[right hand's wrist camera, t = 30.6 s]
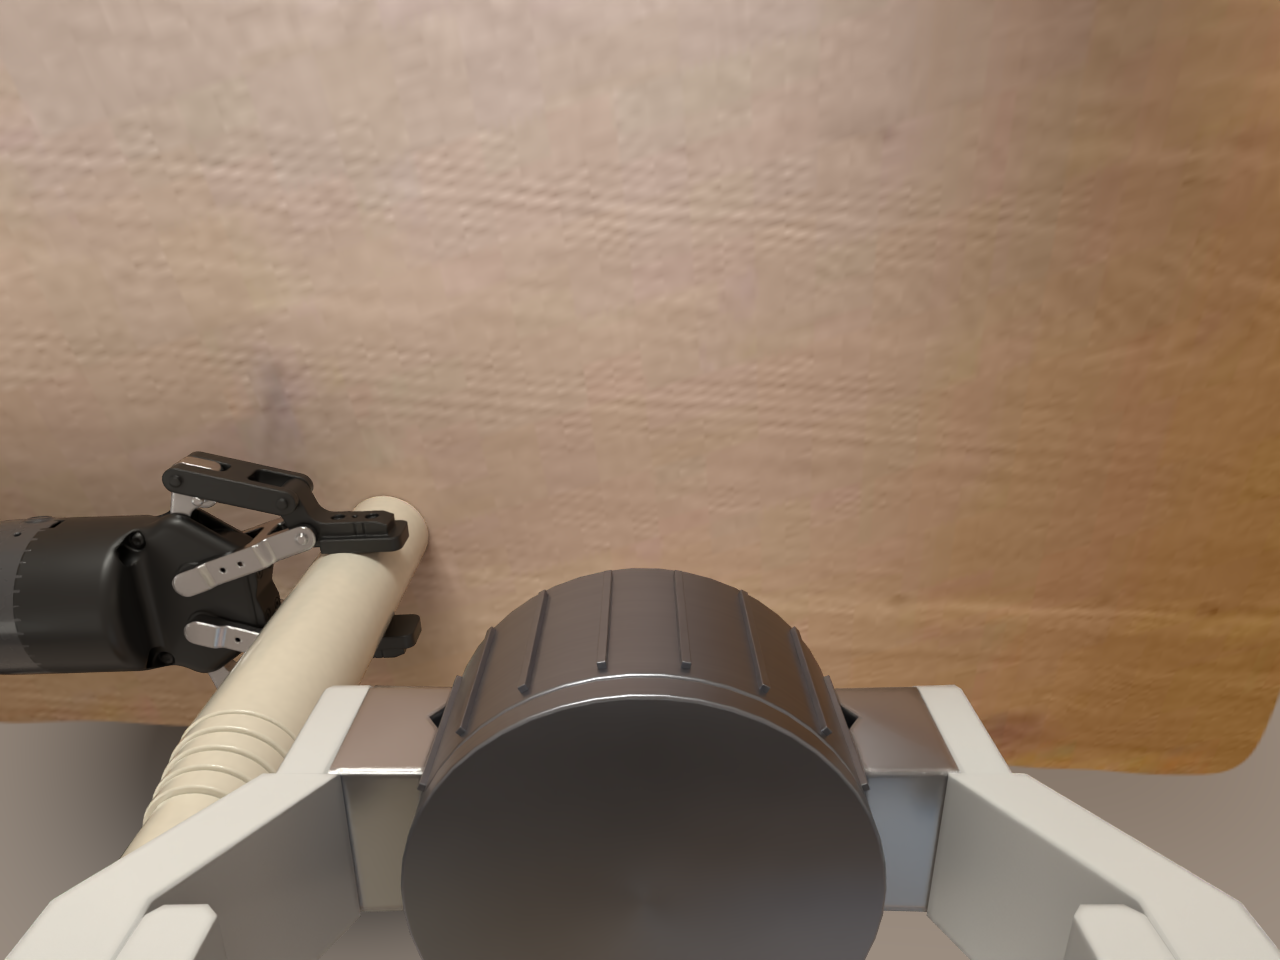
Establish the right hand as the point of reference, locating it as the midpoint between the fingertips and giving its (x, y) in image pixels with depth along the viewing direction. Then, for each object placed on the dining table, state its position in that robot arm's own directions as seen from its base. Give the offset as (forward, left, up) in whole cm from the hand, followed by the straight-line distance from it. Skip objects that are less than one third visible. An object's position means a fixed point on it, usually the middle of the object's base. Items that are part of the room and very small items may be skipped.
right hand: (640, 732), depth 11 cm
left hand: (+15, +8, -30) cm, 34 cm away
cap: (0, 0, +2) cm, 2 cm away
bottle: (+18, +7, -36) cm, 41 cm away
